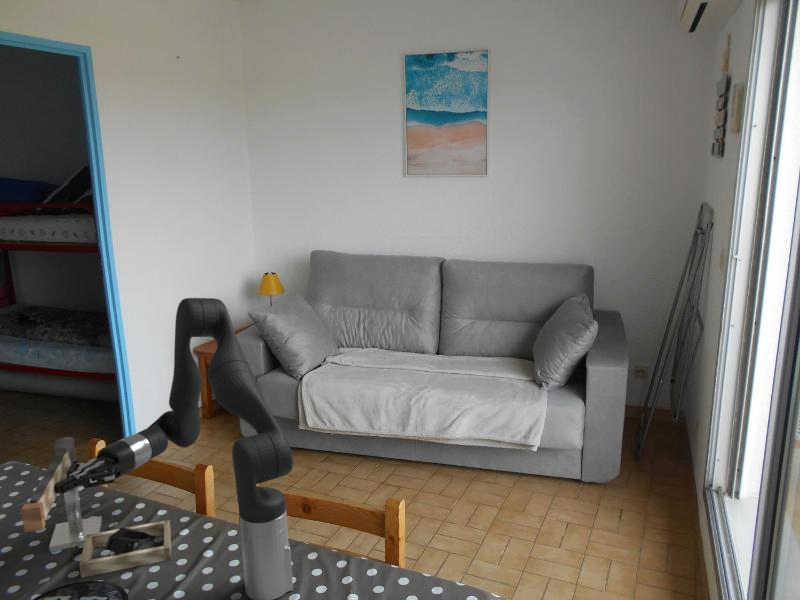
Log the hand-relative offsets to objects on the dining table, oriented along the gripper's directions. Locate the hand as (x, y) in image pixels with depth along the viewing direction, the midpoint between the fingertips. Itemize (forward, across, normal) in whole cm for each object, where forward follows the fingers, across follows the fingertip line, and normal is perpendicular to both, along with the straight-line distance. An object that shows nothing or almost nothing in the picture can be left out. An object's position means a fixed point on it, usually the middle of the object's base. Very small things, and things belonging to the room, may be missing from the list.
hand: (57, 489), depth 135 cm
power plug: (-12, +6, +20) cm, 24 cm away
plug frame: (-11, +5, +20) cm, 23 cm away
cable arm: (-1, -4, +4) cm, 5 cm away
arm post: (-11, -12, +20) cm, 26 cm away
